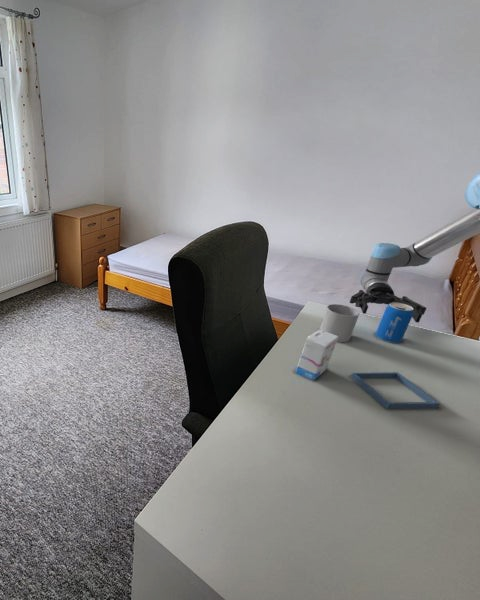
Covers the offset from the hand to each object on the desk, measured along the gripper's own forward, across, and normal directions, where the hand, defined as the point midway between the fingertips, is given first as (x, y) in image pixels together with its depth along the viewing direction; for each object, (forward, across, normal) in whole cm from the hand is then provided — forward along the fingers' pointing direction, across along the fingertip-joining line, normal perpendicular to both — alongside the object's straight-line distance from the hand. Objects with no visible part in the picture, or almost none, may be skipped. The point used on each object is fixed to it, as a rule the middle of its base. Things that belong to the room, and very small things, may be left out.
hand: (391, 314), depth 111 cm
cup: (+11, +15, -7) cm, 20 cm away
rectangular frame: (+37, +5, -7) cm, 38 cm away
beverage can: (+5, 0, -7) cm, 9 cm away
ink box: (+37, +22, -7) cm, 44 cm away
